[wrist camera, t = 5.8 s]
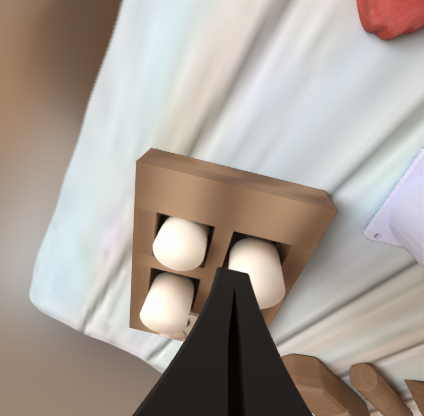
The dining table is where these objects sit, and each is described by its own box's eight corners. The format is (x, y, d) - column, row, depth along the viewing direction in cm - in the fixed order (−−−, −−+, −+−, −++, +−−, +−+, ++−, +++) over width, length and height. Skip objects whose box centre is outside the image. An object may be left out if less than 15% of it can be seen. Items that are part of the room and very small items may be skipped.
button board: (324, 190, 18) (340, 214, 15) (250, 330, 29) (250, 360, 26) (151, 147, 18) (133, 163, 15) (139, 304, 29) (127, 331, 26)
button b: (197, 277, 21) (190, 311, 18) (190, 304, 23) (183, 338, 20) (155, 267, 21) (140, 299, 18) (152, 294, 23) (138, 328, 20)
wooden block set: (351, 456, 33) (281, 403, 27) (338, 407, 38) (276, 352, 32) (505, 446, 26) (456, 371, 20) (464, 387, 31) (415, 312, 25)
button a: (214, 212, 20) (209, 238, 17) (205, 247, 22) (199, 275, 19) (168, 201, 20) (154, 225, 17) (163, 237, 22) (151, 264, 19)
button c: (286, 243, 18) (294, 278, 15) (269, 278, 20) (273, 314, 17) (236, 231, 18) (235, 264, 15) (224, 267, 20) (221, 301, 17)
